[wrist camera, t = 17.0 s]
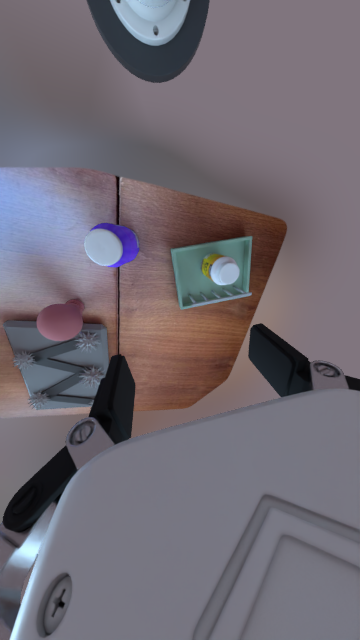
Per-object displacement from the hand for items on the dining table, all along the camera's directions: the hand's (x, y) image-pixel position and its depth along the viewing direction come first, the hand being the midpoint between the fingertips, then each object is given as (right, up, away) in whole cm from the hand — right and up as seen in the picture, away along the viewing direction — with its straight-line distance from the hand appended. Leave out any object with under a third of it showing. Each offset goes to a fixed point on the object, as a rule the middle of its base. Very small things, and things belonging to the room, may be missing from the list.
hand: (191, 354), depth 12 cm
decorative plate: (-32, -11, +34) cm, 48 cm away
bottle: (-13, +19, +23) cm, 32 cm away
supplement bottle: (+7, +16, +27) cm, 32 cm away
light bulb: (-25, +6, +27) cm, 37 cm away
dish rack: (+7, +14, +29) cm, 33 cm away
